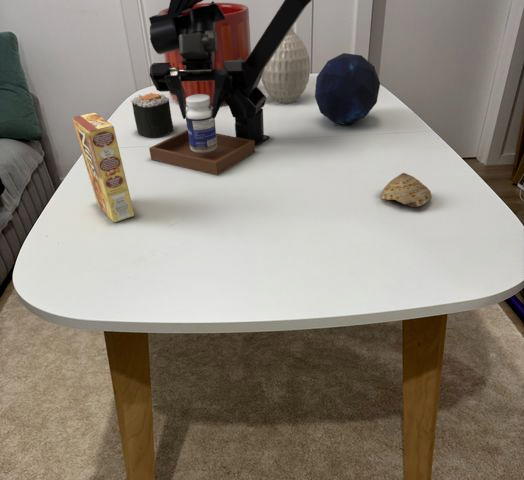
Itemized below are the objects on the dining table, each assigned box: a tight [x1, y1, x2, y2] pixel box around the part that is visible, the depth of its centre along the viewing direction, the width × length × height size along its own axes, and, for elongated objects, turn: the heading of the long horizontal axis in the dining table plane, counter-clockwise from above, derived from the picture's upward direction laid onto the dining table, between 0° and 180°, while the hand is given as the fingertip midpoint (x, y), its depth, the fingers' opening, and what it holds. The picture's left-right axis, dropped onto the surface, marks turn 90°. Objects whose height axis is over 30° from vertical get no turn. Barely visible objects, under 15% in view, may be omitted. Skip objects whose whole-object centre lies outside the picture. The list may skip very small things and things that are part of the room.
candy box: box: [72, 112, 135, 223], centre depth 85 cm, size 9×4×15 cm, turn 33°
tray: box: [148, 129, 256, 176], centre depth 107 cm, size 14×18×2 cm
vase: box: [260, 27, 311, 104], centre depth 130 cm, size 13×13×17 cm
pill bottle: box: [185, 94, 217, 153], centre depth 102 cm, size 6×6×10 cm
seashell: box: [380, 172, 433, 208], centre depth 88 cm, size 8×6×8 cm
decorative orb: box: [314, 52, 381, 126], centre depth 116 cm, size 14×15×15 cm
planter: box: [158, 2, 252, 107], centre depth 135 cm, size 23×23×20 cm
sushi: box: [130, 92, 174, 139], centre depth 118 cm, size 8×8×8 cm
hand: (198, 117), depth 100 cm, fingers closed on pill bottle, 6 cm apart
